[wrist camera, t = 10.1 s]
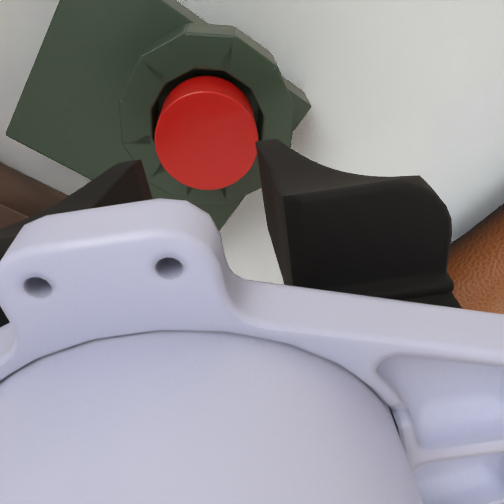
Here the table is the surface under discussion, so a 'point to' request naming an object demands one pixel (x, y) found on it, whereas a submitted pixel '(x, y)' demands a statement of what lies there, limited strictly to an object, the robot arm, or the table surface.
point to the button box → (143, 90)
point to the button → (206, 133)
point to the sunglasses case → (480, 265)
